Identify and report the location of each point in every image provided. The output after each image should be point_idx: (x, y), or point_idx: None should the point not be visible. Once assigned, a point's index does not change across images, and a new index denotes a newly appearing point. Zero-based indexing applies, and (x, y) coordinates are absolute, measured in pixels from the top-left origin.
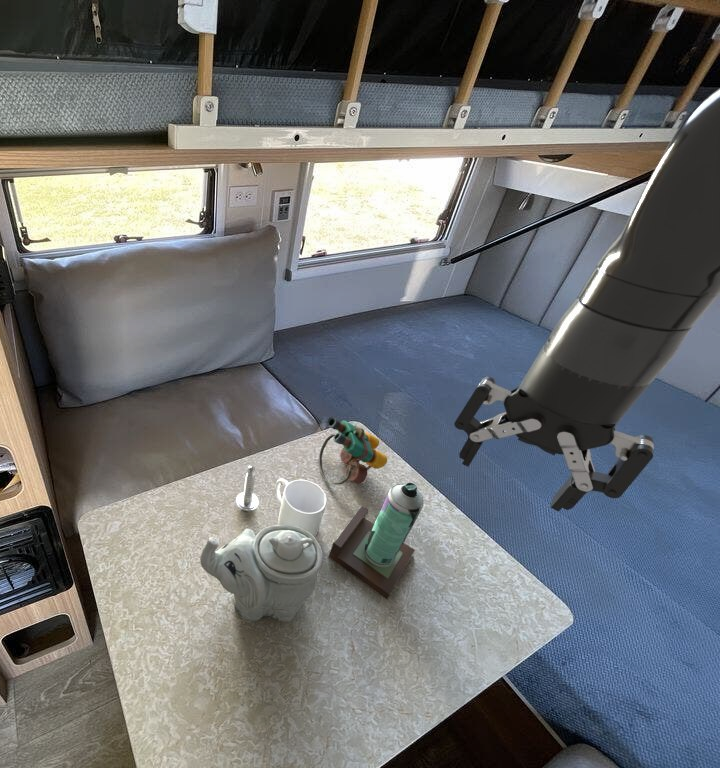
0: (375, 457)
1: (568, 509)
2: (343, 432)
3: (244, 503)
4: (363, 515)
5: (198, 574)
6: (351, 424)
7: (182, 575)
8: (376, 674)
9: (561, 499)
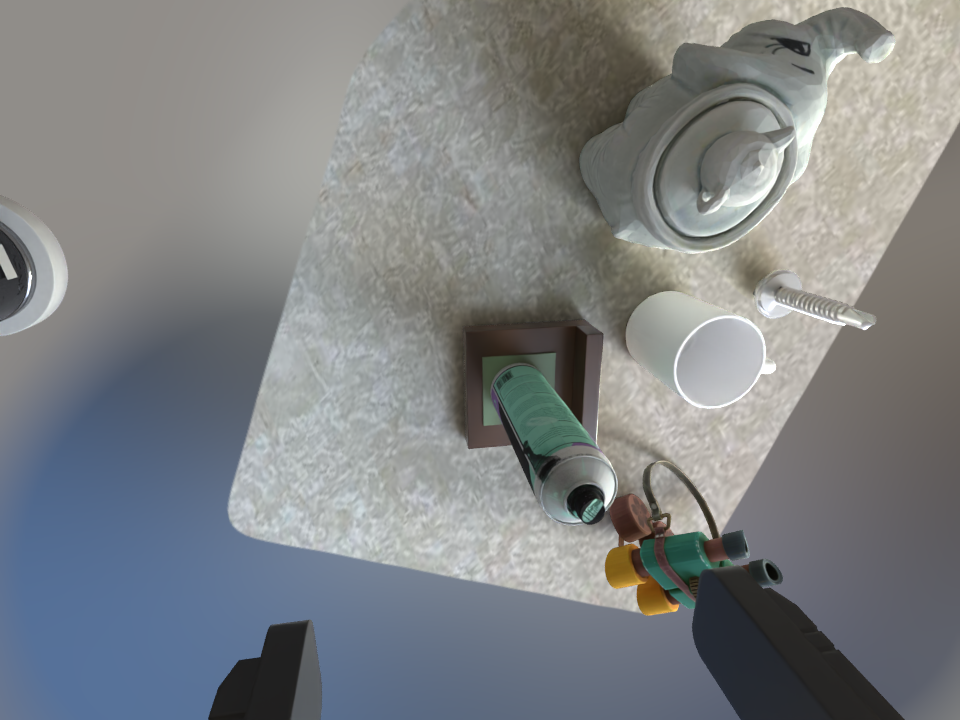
0: (633, 566)
1: (234, 668)
2: None
3: (782, 283)
4: None
5: None
6: None
7: None
8: (417, 188)
9: (280, 697)
